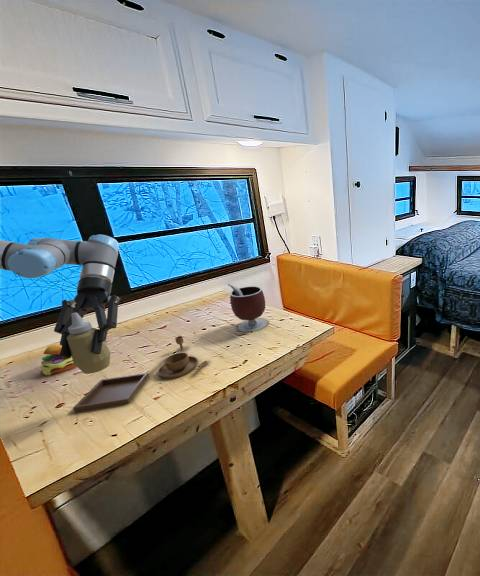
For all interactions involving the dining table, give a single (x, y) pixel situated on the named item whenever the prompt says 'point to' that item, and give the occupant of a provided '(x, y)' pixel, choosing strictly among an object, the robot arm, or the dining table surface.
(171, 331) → the dining table surface
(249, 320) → the mate gourd
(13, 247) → the robot arm
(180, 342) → the place setting
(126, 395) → the dark brown tray
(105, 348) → the squeeze bottle
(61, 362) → the cheeseburger
